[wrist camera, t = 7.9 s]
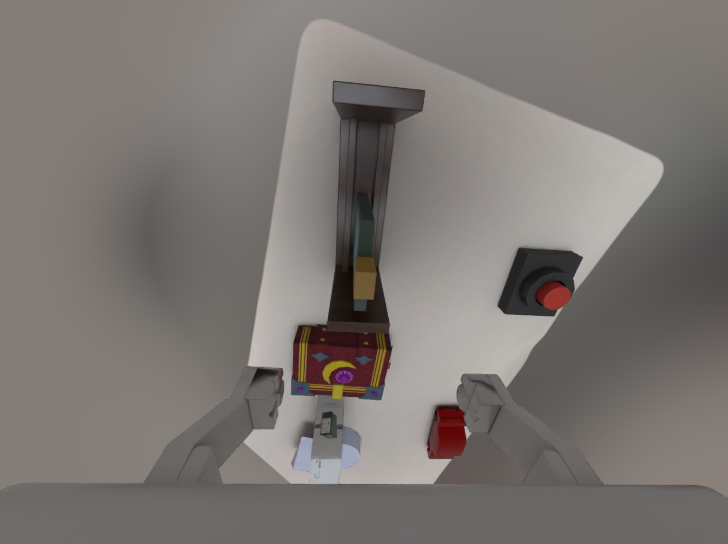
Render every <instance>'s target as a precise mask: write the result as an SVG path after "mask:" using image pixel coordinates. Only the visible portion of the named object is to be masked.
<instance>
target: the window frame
mask: <svg viewBox="0 0 728 544" xmlns="http://www.w3.org/2000/svg"><path fill="white" fill-rule="evenodd" d="M424 97H425V90H418V89H408V88H399V87H389V86H380V85H370V84H361V83H351V82H342V81H333V104H334V106H335V108H336V110H337V112H338V114H339V116H340V118H341V130H340V158H339V186H338V214H337V242H336V266H335V273H334V280H333V287H332V294H331V301H330V307H329V314H328V321H327V331H335V332H359V333H384V334H388V333H389V326H390V323H389V318H388V313H387V308H386V303H385V298H384V293H383V288H382V283H381V278H380V273H379V268H378V267H379V258H380V250H381V241H382V232H383V224H384V215H385V206H386V198H387V189H388V180H389V172H390V163H391V154H392V146H393V137H394V129H395V124H396V123H398V122H400V121H402V120H404V119H406V118H409V117H411V116H413V115H415V114H417V113H419V112H422V110H423V103H424ZM358 193H367V194H368V197H369V201H370V204H371V208H372V212H373V215H374V219H375V227H374V237H373V247H372V257H373V258H374V261H375V267H376V273H377V274H376V283H375V292H374V299H373V300H370V299H367V307H366V311H354V298H353V258H354V241H355V226H356V211H357V199H358Z"/></svg>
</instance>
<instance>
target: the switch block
mask: <svg viewBox="0 0 728 544" xmlns="http://www.w3.org/2000/svg"><path fill="white" fill-rule="evenodd" d="M582 259H583V257H582V256H580V255H578V254H576V253H574V252H572V251H557V250H542V249H526V248H519V250H518V252H517V255H516V258H515V261H514V263H513V266H512V269H511V272H510V274H509V277H508V280H507V283H506V285H505V288H504V291H503V294H502V296H501V299H500V302H499V305H498V307H499V308H500V309H501V310H502V311H503V313H504V314H513V315H534V316H555V314H556V312H557V310H558V309H555V310H550V309H547V308H546V307H545V306H543V305H542V304H541V303H540V302H539V301H538V300H537V299H536V292H537V290H538V289H539V288H540V287H541V286H542V285H543V284H544V283H547V282H550V281H556V282H559V283H560V284H562V285H563V286H565V287H566V288H568V289H569V290H570V292H571V296H572V294H573V292H574V290H575V287H574V280H573V277H574V275H575V273H576V271H577V269H578V267H579V265H580V263H581V261H582ZM570 298H571V297H570Z"/></svg>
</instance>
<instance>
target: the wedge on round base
mask: <svg viewBox="0 0 728 544" xmlns="http://www.w3.org/2000/svg"><path fill="white" fill-rule="evenodd" d="M312 442H313V438H308V437H302V438H301V440H300V443H299V445H298V447H297V450H296V452H295V455H294V457H293V460H292V462H291V464H292V468H293V469H295V470H301V471H307V472H310V457H311V450H312ZM359 459H360V437H359V435H358V434H357V433H356V432H355V431H354V430H352V429H350V428H346V427H343V443H342V463H341V469H346V468H349V467H352V466H354V465H355V464H356V463H357V462H358V461H359Z"/></svg>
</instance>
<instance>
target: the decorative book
mask: <svg viewBox="0 0 728 544" xmlns="http://www.w3.org/2000/svg"><path fill="white" fill-rule="evenodd" d="M392 346H393V345H392ZM391 352H392V347H391V343H390V338H389V334H384V333H359V332H335V331H327V326H322V325H318V326H317V328H315V327H303V326H298V329H297V333H296V336H295V339H294V344H293V375H292V379H291V395H304V396H315V395H329V396H332V398H333V399H342V396H345V397H359V399H370V400H381V399H382V395H383V390H384V386H385V382H384V381H385V377H386V373H387V369H389V368H390V364H391V363H389V360H390V356H391Z"/></svg>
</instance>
